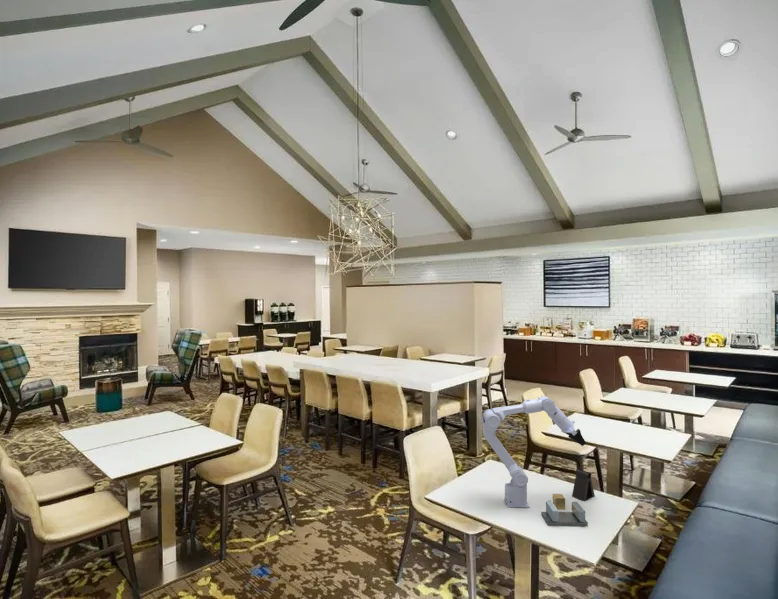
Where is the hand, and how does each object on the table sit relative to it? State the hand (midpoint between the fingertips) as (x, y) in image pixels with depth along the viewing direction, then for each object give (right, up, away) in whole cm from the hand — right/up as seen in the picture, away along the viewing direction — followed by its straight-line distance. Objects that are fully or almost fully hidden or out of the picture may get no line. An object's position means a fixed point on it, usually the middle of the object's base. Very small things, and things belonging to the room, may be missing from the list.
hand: (580, 441), depth 203 cm
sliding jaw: (-18, -27, -14) cm, 35 cm away
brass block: (-10, -29, -2) cm, 30 cm away
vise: (-13, -29, -14) cm, 34 cm away
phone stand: (+5, -29, +9) cm, 30 cm away
